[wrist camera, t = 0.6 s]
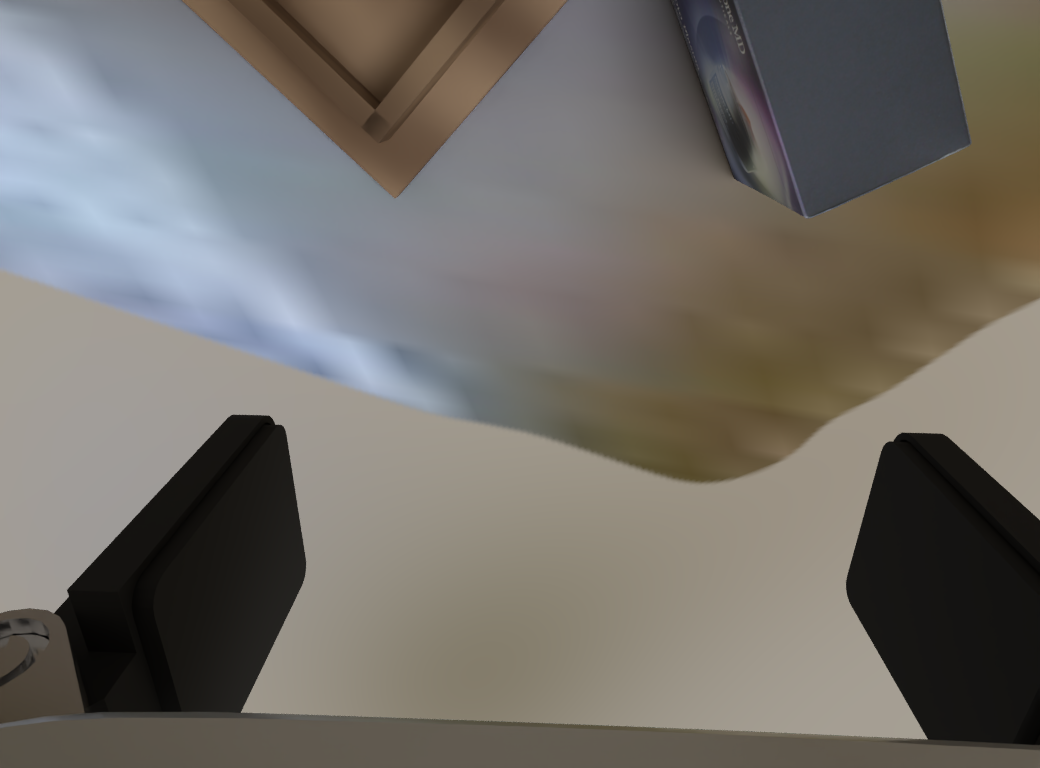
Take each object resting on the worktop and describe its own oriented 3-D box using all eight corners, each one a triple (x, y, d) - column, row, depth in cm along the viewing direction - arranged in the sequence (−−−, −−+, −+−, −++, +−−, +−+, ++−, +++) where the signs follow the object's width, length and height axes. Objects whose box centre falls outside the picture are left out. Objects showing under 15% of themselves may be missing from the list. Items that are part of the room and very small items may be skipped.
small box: (650, -27, 31) (700, -78, 21) (789, -106, 29) (910, -199, 20) (729, 187, 34) (802, 227, 25) (855, 125, 33) (985, 142, 23)
